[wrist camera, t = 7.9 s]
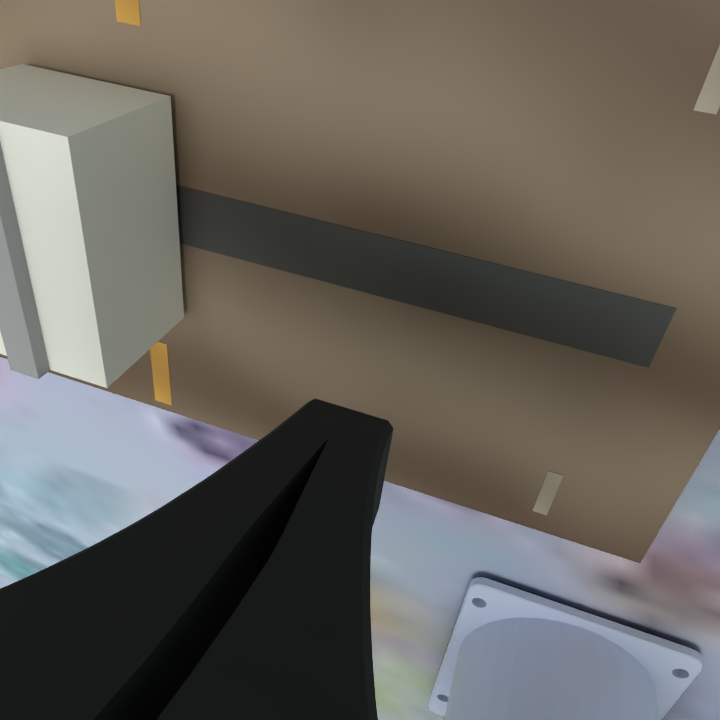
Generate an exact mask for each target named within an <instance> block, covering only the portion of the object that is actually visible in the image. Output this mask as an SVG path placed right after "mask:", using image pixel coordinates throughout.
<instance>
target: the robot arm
mask: <svg viewBox="0 0 720 720" xmlns="http://www.w3.org/2000/svg"><path fill="white" fill-rule="evenodd" d="M393 429H394V428H393V427H392V425H391V424H390V423H389V421H388V420H385V419H382V418H378V417H375V416H372V415H368V414H365V413H362V412H359V411H355V410H352V409H349V408H345V407H342V406H339V405H335V404H332V403H329V402H326V401H322V400H319V399H316V398H315V399H313V400H311V401H309V402H307V403H306V404H305V405H304V406H302V407H301V408H300V409H299V410H298V411H296V412H295V413H294V414H293V415H291V416H290V417H289V418H288V419H286V420H285V421H284V422H283V423H281V424H280V425H279V426H278V427H276V428H275V429H274V430H272V431H271V432H270V433H268V434H267V435H266V436H265V437H263V438H262V439H261V440H259V441H258V442H257V443H255V444H254V445H253V446H251V447H250V448H249V449H247V450H246V451H244V452H243V453H242V454H240V455H239V456H237V457H236V458H235V459H233V460H232V461H230V462H229V463H228V464H226V465H225V466H223V467H222V468H221V469H219V470H218V471H216V472H215V473H213V474H212V475H211V476H209V477H208V478H206V479H205V480H203V481H201V482H200V483H198V484H197V485H195V486H194V487H192V488H191V489H189V490H187V491H186V492H184V493H183V494H181V495H180V496H178V497H176V498H175V499H173V500H172V501H170V502H169V503H167V504H166V505H164V506H162V507H161V508H159V509H157V510H156V511H154V512H152V513H151V514H149V515H147V516H146V517H144V518H142V519H140V520H139V521H137V522H135V523H133V524H132V525H130V526H128V527H126V528H125V529H123V530H121V531H119V532H117V533H115V534H113V535H112V536H110V537H108V538H106V539H104V540H102V541H100V542H99V543H97V544H95V545H93V546H91V547H89V548H87V549H85V550H83V551H81V552H79V553H77V554H74V555H72V556H70V557H68V558H66V559H64V560H62V561H60V562H58V563H56V564H54V565H52V566H50V567H48V568H46V569H44V570H41V571H39V572H37V573H35V574H33V575H30V576H28V577H26V578H24V579H22V580H19V581H17V582H15V583H13V584H10V585H8V586H6V587H3V588H1V589H0V720H378V718H377V709H376V700H375V687H374V674H373V660H372V641H371V618H370V554H371V534H372V527H373V524H374V520H375V517H376V514H377V511H378V508H379V504H380V499H381V493H382V488H383V483H384V477H385V472H386V466H387V461H388V456H389V450H390V445H391V440H392V434H393ZM702 668H703V662H702V657H701V655H700V654H699V653H698V652H697V651H696V650H694V649H692V648H689V647H686V646H683V645H680V644H677V643H674V642H671V641H668V640H666V639H663V638H660V637H657V636H654V635H651V634H648V633H645V632H642V631H639V630H636V629H633V628H631V627H628V626H625V625H622V624H619V623H616V622H613V621H610V620H607V619H604V618H601V617H598V616H595V615H593V614H590V613H587V612H584V611H581V610H578V609H575V608H572V607H569V606H566V605H563V604H560V603H558V602H555V601H552V600H549V599H546V598H543V597H540V596H537V595H534V594H531V593H528V592H525V591H523V590H520V589H517V588H514V587H511V586H508V585H505V584H502V583H499V582H496V581H493V580H490V579H488V578H483V577H477V578H474V579H472V580H471V582H470V584H469V587H468V590H467V593H466V596H465V599H464V601H463V604H462V607H461V610H460V613H459V616H458V619H457V621H456V624H455V627H454V630H453V633H452V636H451V639H450V641H449V644H448V647H447V650H446V653H445V656H444V659H443V661H442V664H441V667H440V670H439V673H438V676H437V679H436V681H435V684H434V687H433V690H432V693H431V696H430V699H429V703H428V707H429V709H430V710H431V711H432V712H433V713H435V714H437V715H440V716H442V717H444V720H662V718H663V717H664V716H665V715H666V713H667V712H668V711H669V710H670V709H671V707H672V706H673V705H674V704H675V702H676V701H677V700H678V699H679V697H680V696H681V695H682V694H683V693H684V691H685V690H686V689H687V688H688V686H689V685H690V684H691V683H692V681H693V680H694V679H695V678H696V676H697V675H698V674H699V673H700V672H701V670H702Z"/></svg>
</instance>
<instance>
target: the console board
mask: <svg viewBox="0 0 720 720" xmlns="http://www.w3.org/2000/svg"><path fill="white" fill-rule="evenodd" d="M20 64H25V65H30V66H34V67H39V68H44V69H48V70H53V71H57V72H62V73H67V74H71V75H76V76H81V77H85V78H90V79H94V80H99V81H104V82H108V83H113V84H117V85H122V86H127V87H131V88H136V89H140V90H145V91H150V92H154V93H159V94H163V95H168V96H171V112H172V128H173V144H174V161H175V177H176V194H177V210H178V226H179V243H180V259H181V275H182V292H183V308H184V318H183V319H182V320H181V321H180V322H179V323H177V324H176V325H175V326H174V327H173V328H172V329H171V330H170V331H169V332H168V333H167V334H166V335H164V336H163V337H162V338H161V339H160V340H159V341H158V342H157V343H156V344H155V345H154V346H152V347H151V348H150V349H149V350H148V351H147V352H146V353H145V354H144V355H143V356H142V357H140V358H139V359H138V360H137V361H136V362H135V363H134V364H133V365H132V366H131V367H130V368H128V369H127V370H126V371H125V372H124V373H123V374H122V375H121V376H120V377H119V378H118V379H117V380H115V381H114V382H113V383H112V384H111V385H110V386H109V387H108V388H105V387H102V386H99V385H96V384H92V383H89V382H86V381H83V380H80V379H77V378H74V377H71V376H68V375H65V374H61V373H58V372H55V371H52V370H49V371H48V372H50V373H53V374H56V375H59V376H62V377H65V378H68V379H71V380H75V381H78V382H81V383H84V384H87V385H90V386H93V387H96V388H99V389H102V390H105V391H109V392H112V393H115V394H118V395H121V396H124V397H127V398H130V399H133V400H136V401H140V402H143V403H146V404H149V405H152V406H155V407H158V408H161V409H164V410H167V411H170V412H174V413H177V414H180V415H183V416H186V417H189V418H192V419H195V420H198V421H201V422H205V423H208V424H211V425H214V426H217V427H220V428H223V429H226V430H229V431H232V432H235V433H239V434H242V435H245V436H248V437H251V438H254V439H257V440H261V439H262V438H263V437H265V436H266V435H267V434H268V433H270V432H271V431H272V430H274V429H275V428H276V427H278V426H279V425H280V424H281V423H283V422H284V421H285V420H286V419H288V418H289V417H290V416H291V415H293V414H294V413H295V412H296V411H298V410H299V409H300V408H301V407H302V406H304V405H305V404H306V403H307V402H309V401H311V400H313V399H315V398H316V399H319V400H322V401H326V402H329V403H332V404H335V405H339V406H342V407H345V408H349V409H352V410H355V411H359V412H362V413H365V414H368V415H372V416H375V417H378V418H382V419H385V420H388V421H389V423H390V424H391V425H392V427H393V428H394V429H393V434H392V440H391V445H390V450H389V456H388V461H387V466H386V472H385V477H384V481H387V482H390V483H393V484H396V485H400V486H403V487H406V488H409V489H412V490H415V491H418V492H421V493H424V494H427V495H430V496H434V497H437V498H440V499H443V500H446V501H449V502H452V503H455V504H458V505H461V506H465V507H468V508H471V509H474V510H477V511H480V512H483V513H486V514H489V515H492V516H495V517H499V518H502V519H505V520H508V521H511V522H514V523H517V524H520V525H523V526H526V527H530V528H533V529H536V530H539V531H542V532H545V533H548V534H551V535H554V536H557V537H560V538H564V539H567V540H570V541H573V542H576V543H579V544H582V545H585V546H588V547H591V548H595V549H598V550H601V551H604V552H607V553H610V554H613V555H616V556H619V557H622V558H625V559H629V560H632V561H635V562H638V563H640V562H641V560H642V559H643V557H644V555H645V554H646V552H647V550H648V549H649V547H650V545H651V544H652V542H653V540H654V538H655V537H656V535H657V533H658V532H659V530H660V528H661V527H662V525H663V523H664V522H665V520H666V518H667V517H668V515H669V513H670V511H671V510H672V508H673V506H674V505H675V503H676V501H677V500H678V498H679V496H680V495H681V493H682V491H683V489H684V488H685V486H686V484H687V483H688V481H689V479H690V478H691V476H692V474H693V473H694V471H695V469H696V467H697V466H698V464H699V462H700V461H701V459H702V457H703V456H704V454H705V452H706V451H707V449H708V447H709V445H710V444H711V442H712V440H713V439H714V437H715V435H716V434H717V432H718V430H719V429H720V0H0V69H3V68H7V67H12V66H16V65H20ZM0 357H3V358H6V359H8V358H7V356H6V355H2V354H0Z"/></svg>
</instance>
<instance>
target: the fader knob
mask: <svg viewBox="0 0 720 720" xmlns="http://www.w3.org/2000/svg"><path fill="white" fill-rule="evenodd" d="M183 318H184V308H183V292H182V275H181V259H180V243H179V226H178V210H177V194H176V177H175V161H174V144H173V128H172V112H171V96H168V95H163V94H159V93H154V92H150V91H145V90H140V89H136V88H131V87H127V86H122V85H117V84H113V83H108V82H104V81H99V80H94V79H90V78H85V77H81V76H76V75H71V74H67V73H62V72H57V71H53V70H48V69H44V68H39V67H34V66H30V65H25V64H20V65H16V66H12V67H7V68H3V69H0V354H2V355H6V356H7V358H8V362H9V365H10V369H11V370H13V371H16V372H19V373H22V374H25V375H28V376H31V377H34V378H37V379H39V378H41V377H42V376H43V375H44V374H46V373H47V372H48V371H49V370H52V371H55V372H58V373H61V374H65V375H68V376H71V377H74V378H77V379H80V380H83V381H86V382H89V383H92V384H96V385H99V386H102V387H105V388H108V387H109V386H110V385H111V384H112V383H113V382H114V381H115V380H117V379H118V378H119V377H120V376H121V375H122V374H123V373H124V372H125V371H126V370H127V369H128V368H130V367H131V366H132V365H133V364H134V363H135V362H136V361H137V360H138V359H139V358H140V357H142V356H143V355H144V354H145V353H146V352H147V351H148V350H149V349H150V348H151V347H152V346H154V345H155V344H156V343H157V342H158V341H159V340H160V339H161V338H162V337H163V336H164V335H166V334H167V333H168V332H169V331H170V330H171V329H172V328H173V327H174V326H175V325H176V324H177V323H179V322H180V321H181V320H182V319H183Z"/></svg>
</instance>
